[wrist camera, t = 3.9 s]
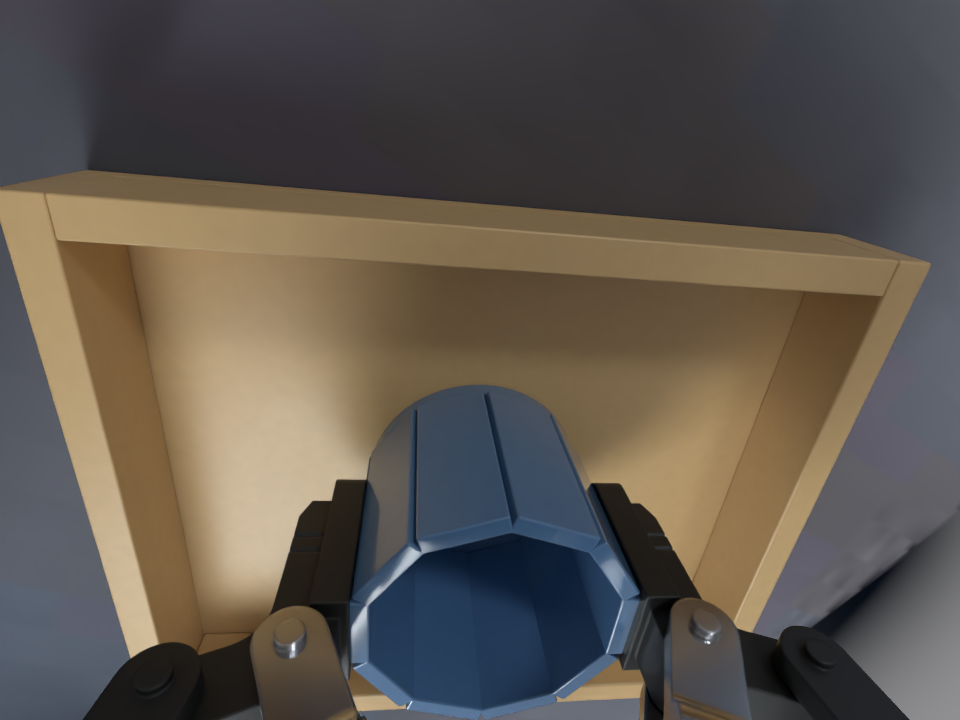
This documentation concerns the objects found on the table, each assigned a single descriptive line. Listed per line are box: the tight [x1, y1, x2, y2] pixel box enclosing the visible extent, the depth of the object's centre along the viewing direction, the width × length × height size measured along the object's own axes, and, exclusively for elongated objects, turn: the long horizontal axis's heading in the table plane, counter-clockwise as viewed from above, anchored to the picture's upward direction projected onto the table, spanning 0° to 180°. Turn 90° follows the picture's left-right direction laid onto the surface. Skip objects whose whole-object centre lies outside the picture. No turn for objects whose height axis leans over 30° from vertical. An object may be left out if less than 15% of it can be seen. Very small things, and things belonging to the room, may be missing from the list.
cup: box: [350, 385, 640, 720], centre depth 12 cm, size 6×6×5 cm
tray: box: [0, 170, 931, 711], centre depth 14 cm, size 18×15×3 cm
